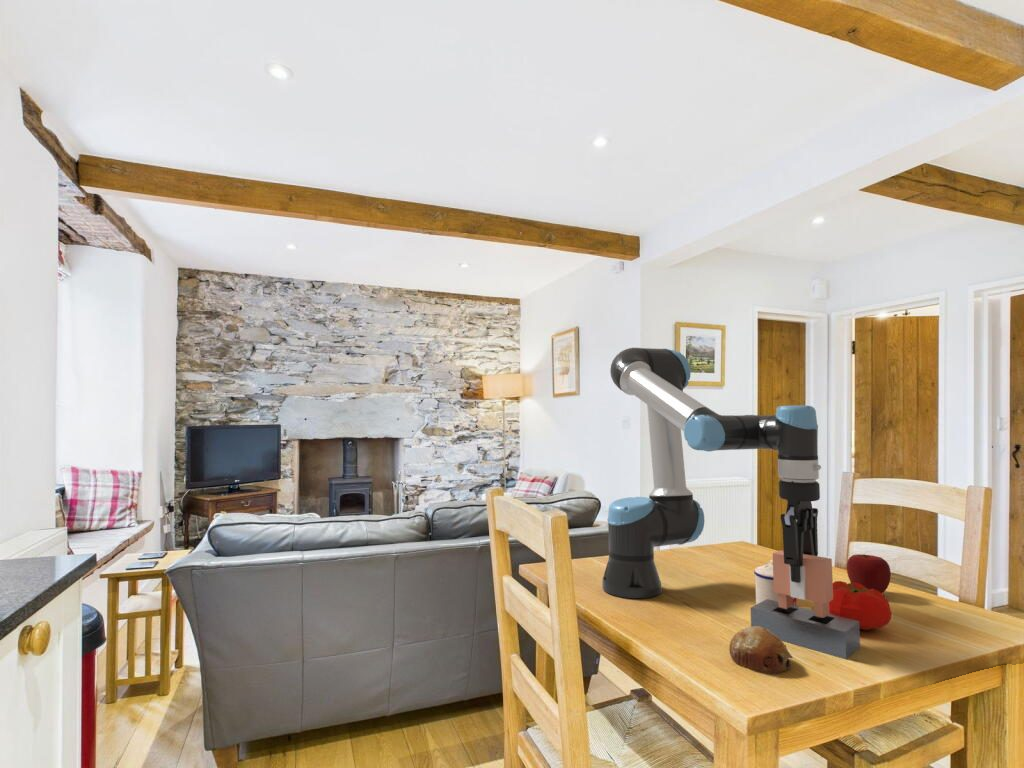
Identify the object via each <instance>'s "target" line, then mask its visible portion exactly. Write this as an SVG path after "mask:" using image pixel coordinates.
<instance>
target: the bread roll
mask: <svg viewBox="0 0 1024 768" xmlns="http://www.w3.org/2000/svg"><path fill="white" fill-rule="evenodd" d="M728 649H729V655H730V658H731V659H732V661H733V663H735V664H736V665H738V666H739V667H742V668H744V669H747V670H751V671H754V672H756V673H757V672H758V673H763V674H780V673H783V672H785V671H786V670H788V669H790V668H791V664H790V660H789V659H794V657H793V656H792V654H791V653H790V652H789V650H788V648H787V645H786V644H784V641H781V640H780V639H779V638H778V637H777V636H776V635H775V634H773V633H772V632H771V631H770V630H767V629H765V628H763V627H760V626H753V627H751V626H749V627H745V628H742V629H740V630H739V631H737V632H735V634H734V635H733V637H732V638H731V640H730V643H729V648H728Z"/></svg>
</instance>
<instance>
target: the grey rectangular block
mask: <svg viewBox="0 0 1024 768" xmlns="http://www.w3.org/2000/svg"><path fill="white" fill-rule="evenodd" d="M753 626H760V627H763V628H765V629H767V630H770V631H771V632H772V633H773V634H775V635H776V636H777V637H778V638H779V639H780V640H781V641H782V642H786V643H789V644H792V645H796V646H799V647H803V648H807V649H809V650H813V651H815V652H816V651H817V652H820V653H823V654H827V655H830V656H834V657H837V658H840V659H844V660H847V659H848V658H850V657H851V656H852V655H853V654H854V653H855V652H857V651H858V650H859V649H860V648H861V639H860V638H861V636H860V635H861V634H860V629H859V621H856V620H852V619H848V618H844V617H839V616H835V615H831V614H829V615H827V616H826V617H824V618H821V617H817V616H815V609H809V608H805V607H801V606H798V605H797V606H794V605H793V606H791V607H789V608H788V609H784V608H780V607H779V603H778V602H777V601H773V600H769V599H766V600H764V601H762V602H760V603H758V604H757V605H756V604H755V605H753V606H750V627H753Z"/></svg>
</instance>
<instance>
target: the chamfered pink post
mask: <svg viewBox="0 0 1024 768" xmlns="http://www.w3.org/2000/svg"><path fill="white" fill-rule="evenodd" d="M772 559H773V580H774V592H776V593H778V603H779V607H780V608H784V609H788V608H789V607H791V606H793V597H791V596H790V567H789V564H785V563H784V550H783V549H782V550H781V549H780V550H777V551H774V552H772ZM802 566H805V585H806V599H805V600H807V601H810V602H811V601H812V602H813V603H814V604H813V605H814V606H813V607H814V609H813V610H814V611H815V616H817V617H821V618H824V617H826V616H827V615H829V602H830V601H831V600H833V583H834V582H833V559H832V558H831V557H825V556H813V555H807V554H803V565H802Z"/></svg>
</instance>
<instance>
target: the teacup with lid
mask: <svg viewBox="0 0 1024 768" xmlns="http://www.w3.org/2000/svg"><path fill="white" fill-rule="evenodd" d="M753 574H754V576H755V577H754V579H755V581H754V582H755V605H757V604H758V603H760V602H762V601H764V600H766V599H769V600H773V601H777V602H778V593H776V592H774V580H773V558H772V559H770V560H769V563H766V564H764V565H761V566H756V567H755V569H754V571H753ZM797 599H798V598H794V597H793V605H794V606H798V605H797V604H798V603H797Z"/></svg>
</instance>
